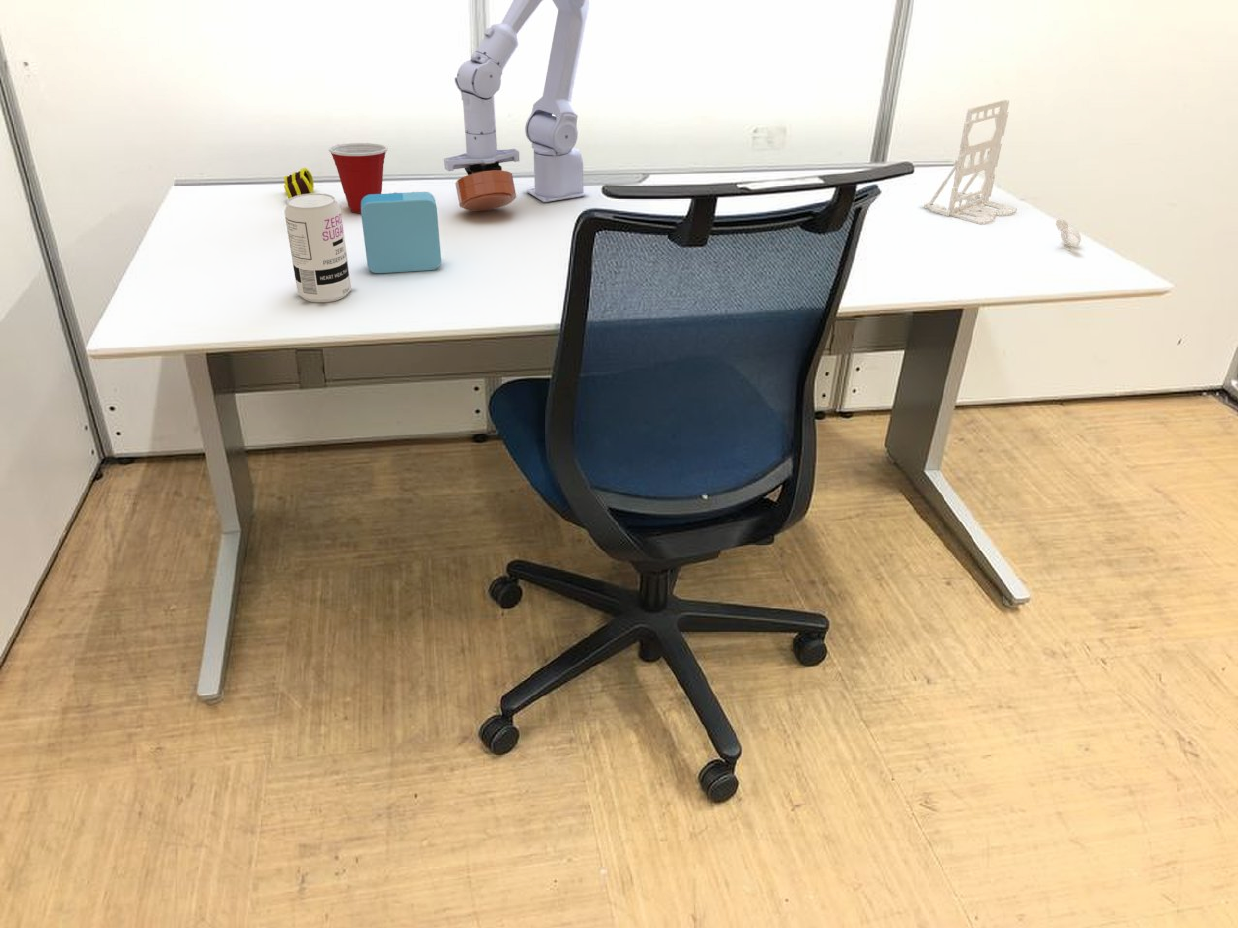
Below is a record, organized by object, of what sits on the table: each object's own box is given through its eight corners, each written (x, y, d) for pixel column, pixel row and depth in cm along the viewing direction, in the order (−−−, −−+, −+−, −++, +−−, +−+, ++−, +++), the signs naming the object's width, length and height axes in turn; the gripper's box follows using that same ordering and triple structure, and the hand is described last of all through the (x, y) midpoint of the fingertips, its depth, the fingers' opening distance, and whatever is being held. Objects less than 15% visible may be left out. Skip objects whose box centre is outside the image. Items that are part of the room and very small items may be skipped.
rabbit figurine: (1090, 246, 183) (1085, 238, 176) (1070, 261, 184) (1066, 253, 177) (1069, 222, 185) (1064, 213, 178) (1050, 236, 186) (1044, 228, 179)
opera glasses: (290, 194, 205) (281, 170, 202) (316, 187, 205) (307, 164, 203) (290, 209, 197) (281, 184, 194) (317, 202, 197) (308, 177, 195)
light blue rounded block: (440, 260, 172) (434, 190, 166) (442, 269, 169) (436, 199, 162) (368, 264, 170) (359, 194, 164) (368, 274, 166) (359, 203, 160)
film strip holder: (982, 226, 191) (1005, 118, 181) (920, 208, 200) (938, 104, 189) (1022, 211, 199) (1046, 107, 189) (961, 195, 208) (981, 94, 198)
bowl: (468, 215, 197) (464, 192, 197) (522, 203, 196) (518, 180, 196) (452, 203, 186) (448, 179, 186) (509, 191, 185) (505, 166, 185)
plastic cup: (400, 201, 199) (394, 139, 193) (384, 219, 190) (377, 154, 184) (347, 199, 200) (339, 137, 194) (328, 216, 191) (319, 152, 185)
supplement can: (303, 284, 162) (288, 192, 154) (355, 283, 163) (343, 191, 155) (293, 304, 156) (277, 209, 148) (348, 303, 156) (335, 208, 148)
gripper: (452, 140, 181) (457, 214, 188) (525, 131, 187) (528, 203, 194) (437, 131, 186) (443, 204, 193) (509, 123, 192) (512, 193, 199)
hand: (484, 203), depth 194 cm, fingers closed on bowl
